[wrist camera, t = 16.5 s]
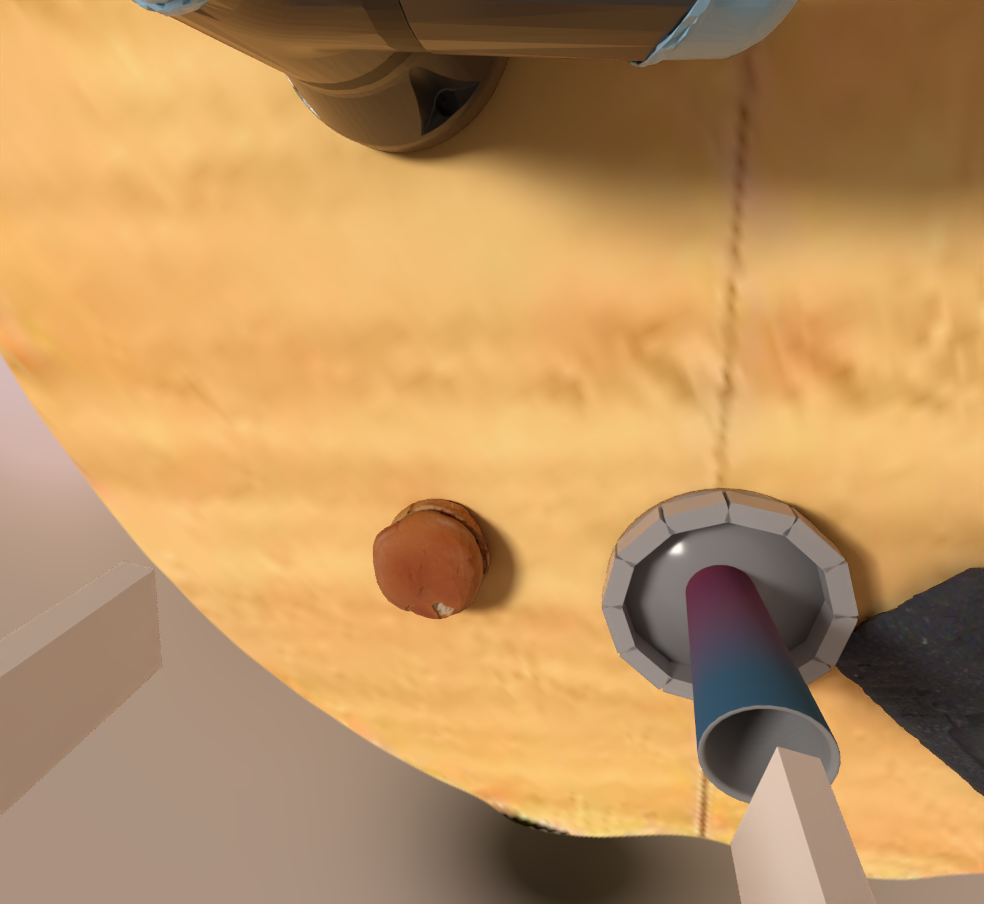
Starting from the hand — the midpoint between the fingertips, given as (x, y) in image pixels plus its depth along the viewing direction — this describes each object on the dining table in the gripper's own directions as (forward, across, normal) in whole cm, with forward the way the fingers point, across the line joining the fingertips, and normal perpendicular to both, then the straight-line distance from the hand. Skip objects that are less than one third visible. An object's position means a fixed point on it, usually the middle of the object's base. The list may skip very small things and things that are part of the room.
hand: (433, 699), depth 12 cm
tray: (+32, +15, -14) cm, 38 cm away
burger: (+32, -8, -17) cm, 37 cm away
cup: (+31, +15, -14) cm, 37 cm away
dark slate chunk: (+32, +36, -16) cm, 51 cm away
